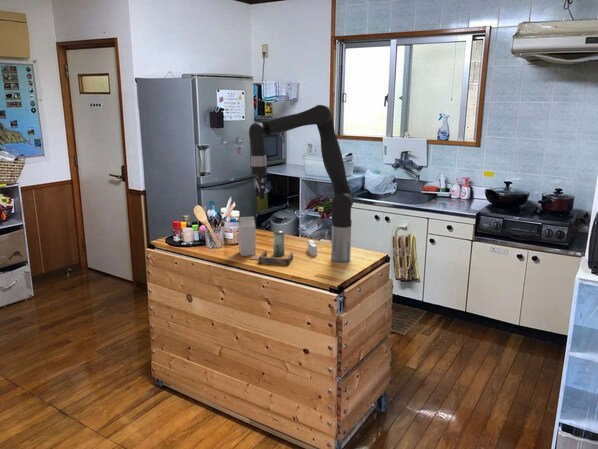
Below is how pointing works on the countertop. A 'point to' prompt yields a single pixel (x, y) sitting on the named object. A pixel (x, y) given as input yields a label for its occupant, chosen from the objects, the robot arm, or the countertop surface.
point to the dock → (275, 259)
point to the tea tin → (279, 243)
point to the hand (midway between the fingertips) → (259, 197)
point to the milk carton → (247, 236)
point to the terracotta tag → (255, 257)
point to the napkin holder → (312, 248)
